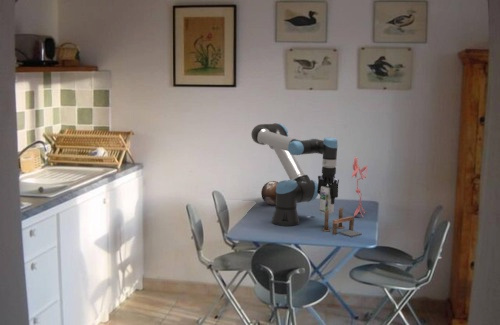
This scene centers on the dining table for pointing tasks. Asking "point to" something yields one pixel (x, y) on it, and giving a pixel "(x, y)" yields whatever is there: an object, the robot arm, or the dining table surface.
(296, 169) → the robot arm
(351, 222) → the wooden frame
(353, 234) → the pad
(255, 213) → the dining table surface
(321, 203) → the syrup box
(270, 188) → the wooden sphere
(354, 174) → the figurine
